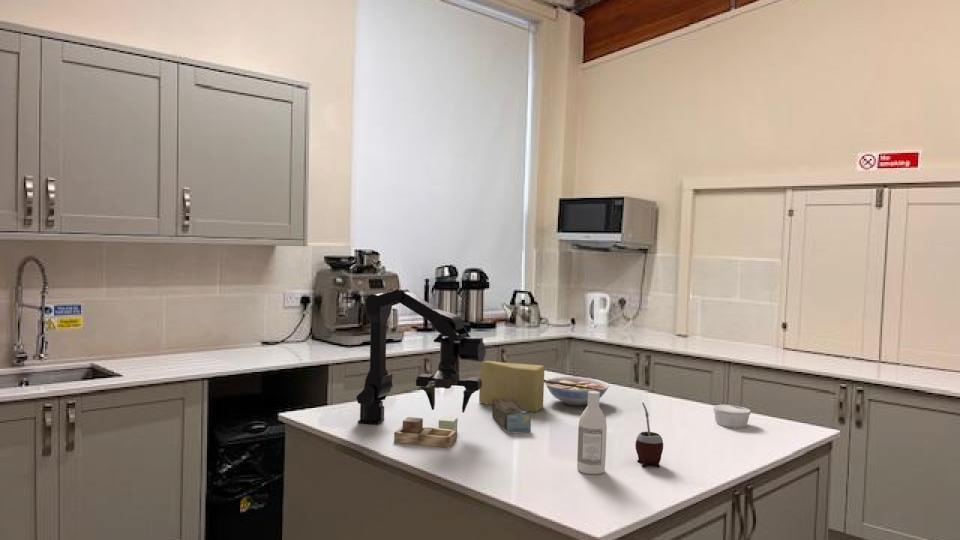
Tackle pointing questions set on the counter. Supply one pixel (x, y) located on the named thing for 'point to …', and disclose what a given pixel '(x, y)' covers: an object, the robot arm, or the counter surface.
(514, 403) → the beverage carton
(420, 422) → the walnut cube
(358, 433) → the counter surface
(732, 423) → the ramekin
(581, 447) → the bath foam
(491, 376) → the cheese
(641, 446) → the mate gourd
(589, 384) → the ramen bowl
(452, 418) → the sage cube
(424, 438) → the box
